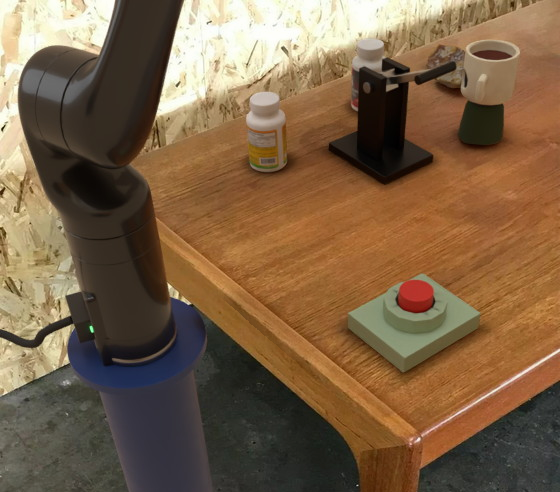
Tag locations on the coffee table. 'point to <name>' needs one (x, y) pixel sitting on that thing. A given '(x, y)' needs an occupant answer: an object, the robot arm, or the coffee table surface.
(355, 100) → the pill bottle
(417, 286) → the button
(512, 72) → the character mug
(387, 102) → the switch bracket
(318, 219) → the coffee table surface
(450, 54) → the decorative stone
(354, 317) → the button block
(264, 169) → the supplement bottle
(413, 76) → the switch lever
